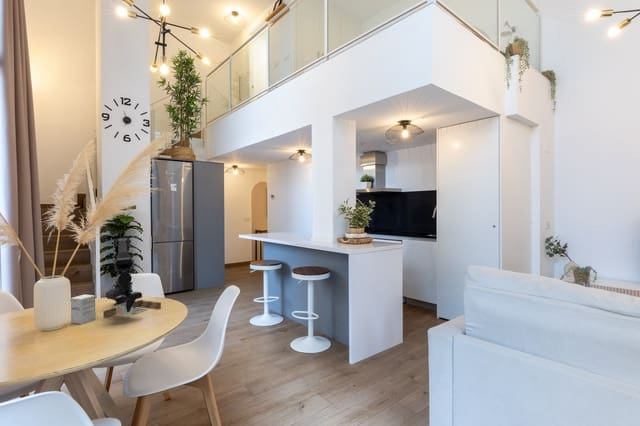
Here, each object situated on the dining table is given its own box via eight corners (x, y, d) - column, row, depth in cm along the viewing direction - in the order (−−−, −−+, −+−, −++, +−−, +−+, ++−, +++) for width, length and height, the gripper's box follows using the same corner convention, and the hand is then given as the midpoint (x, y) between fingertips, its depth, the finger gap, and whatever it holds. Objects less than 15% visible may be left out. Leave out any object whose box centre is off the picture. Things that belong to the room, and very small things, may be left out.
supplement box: (70, 323, 153) (69, 297, 153) (85, 318, 160) (85, 294, 160) (81, 324, 151) (80, 298, 151) (96, 319, 158) (95, 294, 158)
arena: (103, 317, 161) (103, 311, 161) (141, 305, 181) (141, 299, 181) (125, 321, 155) (125, 314, 155) (162, 308, 175) (162, 302, 175)
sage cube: (116, 315, 158) (116, 305, 158) (125, 311, 162) (125, 302, 162) (123, 316, 156) (122, 306, 156) (132, 312, 161) (132, 303, 161)
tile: (124, 312, 168) (124, 312, 168) (137, 308, 175) (137, 307, 175) (134, 314, 165) (134, 313, 165) (147, 309, 173) (147, 309, 173)
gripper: (95, 283, 155) (96, 314, 155) (121, 286, 148) (122, 318, 148) (117, 278, 165) (117, 307, 165) (142, 281, 159) (143, 311, 159)
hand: (124, 311), depth 159 cm, fingers closed on sage cube, 5 cm apart
